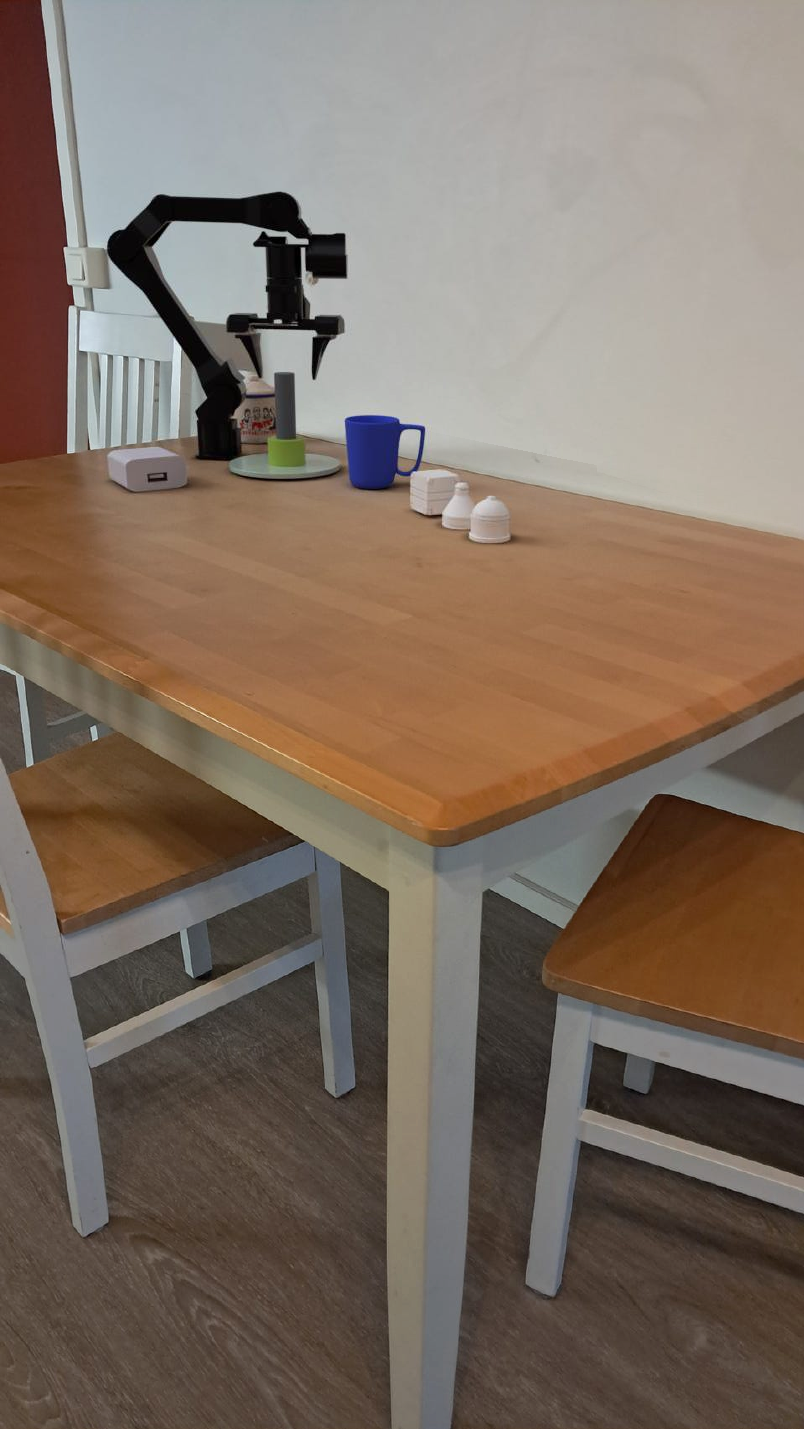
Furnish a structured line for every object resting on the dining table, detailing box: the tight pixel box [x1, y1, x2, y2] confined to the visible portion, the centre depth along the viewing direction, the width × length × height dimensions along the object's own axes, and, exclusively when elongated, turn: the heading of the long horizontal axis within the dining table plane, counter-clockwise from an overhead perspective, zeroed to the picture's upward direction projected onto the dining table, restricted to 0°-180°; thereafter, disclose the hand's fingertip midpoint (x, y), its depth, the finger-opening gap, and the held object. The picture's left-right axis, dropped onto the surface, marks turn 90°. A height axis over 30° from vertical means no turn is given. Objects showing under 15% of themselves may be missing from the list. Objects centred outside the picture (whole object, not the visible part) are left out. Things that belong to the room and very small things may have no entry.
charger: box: [107, 446, 188, 493], centre depth 164 cm, size 5×9×15 cm
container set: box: [409, 468, 511, 544], centre depth 140 cm, size 20×5×6 cm, turn 27°
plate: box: [228, 452, 341, 480], centre depth 173 cm, size 18×18×1 cm
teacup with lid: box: [231, 374, 276, 445], centre depth 197 cm, size 12×9×12 cm
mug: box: [344, 414, 426, 490], centre depth 161 cm, size 8×12×10 cm
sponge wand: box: [267, 371, 306, 467], centre depth 170 cm, size 6×6×14 cm
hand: (287, 378), depth 178 cm, fingers open, 9 cm apart
